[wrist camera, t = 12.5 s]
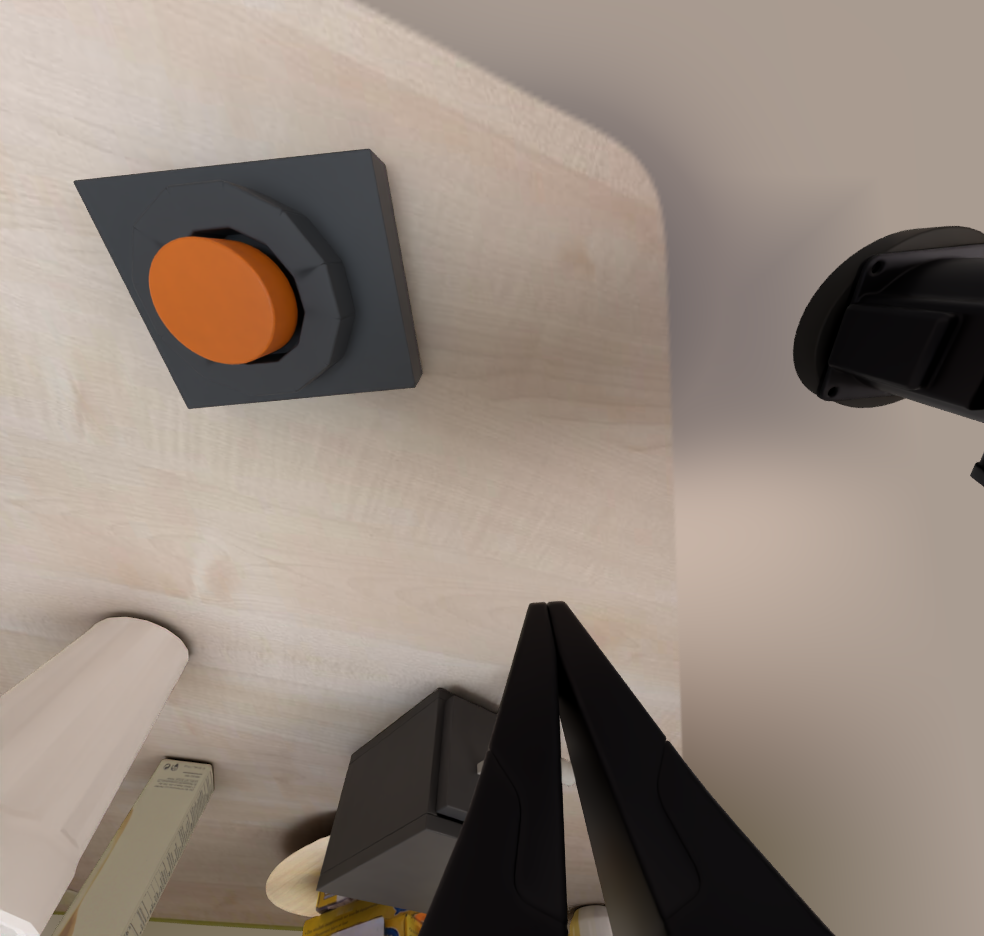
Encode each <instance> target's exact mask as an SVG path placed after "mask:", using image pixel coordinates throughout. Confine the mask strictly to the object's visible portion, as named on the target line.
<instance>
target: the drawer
mask: <svg viewBox="0 0 984 936" xmlns="http://www.w3.org/2000/svg"><path fill="white" fill-rule="evenodd" d="M496 718H497V715H496V714H493V713H491V712H489V711H487V710H485V709H483V708H480V707H478V706H476V705H474V704H472V703H470V702H467V701H465V700H463V699H461V698H459V697H457V696H452V697H451V698H450V699H448V700H447V701H446V702H445V708H444V720H443V732H442V744H441V756H440V768H439V780H438V792H437V804H436V812H437V816H438V817H441V818H444V819H447V820H450V821H454V822H457V823H460V824H463V822H464V820H465V817H466V814H467V812H468V809H469V806H470V804H471V801H472V797H473V794H474V791H475V788H476V785H477V782H478V779H479V776H480V772H481V769H482V766H483V762H484V759H485V755H486V752H487V751H488V746H489V742H490V739H491V735H492V732H493V728H494V725H495V721H496ZM561 767H562V784H564V785H567V786H572V785H573V784H574V783H575V777H574V773H573V769H572V765H571V762H570V761H568V760H566V759H564V758H561Z"/></svg>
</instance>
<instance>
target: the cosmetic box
mask: <svg viewBox="0 0 984 936" xmlns="http://www.w3.org/2000/svg"><path fill="white" fill-rule="evenodd" d="M213 791H214V783H213V773H212V766H211V765H210V764H201V763H193V762H186V761H177V760H171V759H163V760H162V761H161V762H160V764H159V766H158V767H157V769H156V770H155V772H154V774H153V775H152V777H151V778H150V780H149V781H148V783H147V785H146V786H145V788H144V789H143V791H142V793H141V794H140V796H139V797H138V799H137V801H136V802H135V804H134V805H133V807H132V809H131V810H130V812H129V813H128V815H127V817H126V818H125V820H124V821H123V823H122V824H121V826H120V828H119V829H118V831H117V832H116V834H115V835H114V837H113V839H112V840H111V842H110V843H109V845H108V847H107V848H106V850H105V851H104V853H103V854H102V856H101V858H100V859H99V861H98V862H97V864H96V866H95V867H94V869H93V870H92V872H91V874H90V875H89V877H88V878H87V880H86V881H85V883H84V885H83V886H82V888H81V889H80V891H79V893H78V894H77V896H76V897H75V899H74V900H73V902H72V904H71V905H70V907H69V908H68V910H67V912H66V913H65V915H64V916H63V918H62V920H61V921H60V923H59V924H58V926H57V927H56V929H55V931H54V932H53V934H52V936H141V935H142V933H143V931H144V929H145V926H146V925H147V923H148V921H149V919H150V917H151V915H152V913H153V911H154V909H155V907H156V905H157V903H158V901H159V899H160V897H161V895H162V893H163V891H164V889H165V887H166V885H167V883H168V881H169V879H170V877H171V875H172V873H173V871H174V869H175V867H176V865H177V863H178V861H179V859H180V857H181V855H182V853H183V851H184V849H185V847H186V845H187V843H188V841H189V839H190V837H191V835H192V833H193V831H194V829H195V827H196V825H197V823H198V821H199V819H200V817H201V815H202V813H203V811H204V809H205V807H206V805H207V803H208V801H209V799H210V797H211V795H212V793H213Z"/></svg>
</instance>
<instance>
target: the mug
mask: <svg viewBox="0 0 984 936" xmlns="http://www.w3.org/2000/svg"><path fill="white" fill-rule="evenodd" d="M568 936H613V934H612V930H611V926H610V922H609V917H608V913H607V909H606V906H602V905H590V906H585V907H581V908H579V909H577V910H576V911H575V912H574V915H573V918H572V921H571V923H570V933H569V934H568Z"/></svg>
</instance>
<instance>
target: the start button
mask: <svg viewBox="0 0 984 936" xmlns="http://www.w3.org/2000/svg"><path fill="white" fill-rule="evenodd" d="M149 289H150V294H151V298H152V301H153V304H154V306H155V309H156V311H157V313H158V315H159V317H160V318H161V320H162V322H163V323H164V324H165V326H166V327H167V329H168V330H169V331H170V332H171V333H172V334H173V336H174V337H175V338H176V339H177V340H178V341H180V342H181V343H182V344H183V345H184V346H186V347H187V348H188V349H190V350H191V351H193V352H194V353H196V354H198V355H200V356H202V357H204V358H206V359H209V360H212V361H214V362H218V363H223V364H231V365H233V364H244V363H248V362H251V361H253V360H256V359H258V358H260V357H263V356H265V355H268V354H270V353H272V352H275V351H277V350H279V349H281V348H282V347H283V346H285V345H286V344H287V343H288V342H289V340H290V339H291V337H292V336H293V334H294V332H295V329H296V326H297V320H298V308H297V302H296V298H295V294H294V292H293V289H292V287H291V285H290V283H289V281H288V279H287V278H286V276H285V275H284V273H283V272H282V271H281V269H280V268H279V267H278V266H277V265H276V264H275V263H274V262H273V261H272V260H271V259H270V258H269V257H268V256H267V255H265V254H264V253H263V252H261V251H260V250H258V249H256V248H254V247H253V246H251V245H248V244H246V243H243V242H239V241H235V240H226V239H216V238H206V237H195V236H191V237H182V238H177V239H175V240H172V241H170V242H168V243H167V244H165V245H164V246H163V247H162V248H161V249H160V250H159V251H158V252H157V254H156V255H155V256H154V259H153V261H152V263H151V267H150V270H149Z"/></svg>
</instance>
